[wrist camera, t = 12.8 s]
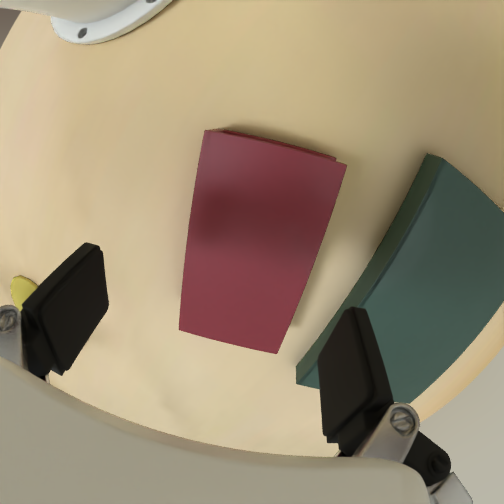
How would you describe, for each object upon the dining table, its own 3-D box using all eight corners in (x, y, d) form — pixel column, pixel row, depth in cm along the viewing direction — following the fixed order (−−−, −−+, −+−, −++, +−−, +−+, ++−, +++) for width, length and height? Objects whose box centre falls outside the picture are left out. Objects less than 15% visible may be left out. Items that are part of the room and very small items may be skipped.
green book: (426, 152, 14) (442, 157, 12) (522, 238, 15) (534, 248, 13) (295, 366, 23) (295, 384, 21) (405, 389, 24) (409, 403, 22)
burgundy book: (218, 128, 15) (204, 130, 12) (335, 157, 15) (347, 165, 12) (190, 304, 21) (178, 330, 18) (278, 326, 21) (277, 354, 18)
